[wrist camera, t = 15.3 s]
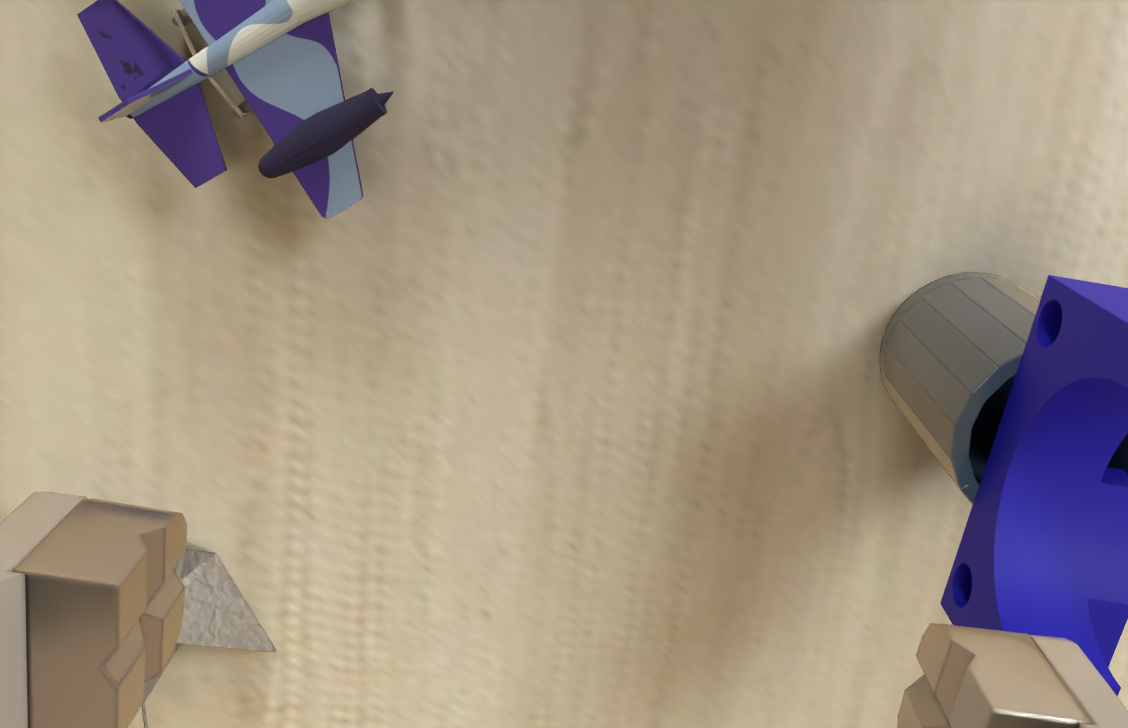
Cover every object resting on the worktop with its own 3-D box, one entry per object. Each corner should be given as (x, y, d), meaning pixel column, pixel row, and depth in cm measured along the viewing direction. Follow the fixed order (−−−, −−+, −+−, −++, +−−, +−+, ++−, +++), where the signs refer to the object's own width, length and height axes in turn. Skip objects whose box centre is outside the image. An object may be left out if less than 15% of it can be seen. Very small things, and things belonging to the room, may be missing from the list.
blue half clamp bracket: (1065, 622, 37) (1152, 736, 31) (940, 603, 37) (1005, 714, 31) (1187, 298, 33) (1313, 361, 27) (1048, 275, 33) (1145, 334, 27)
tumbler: (902, 259, 42) (984, 328, 33) (1070, 286, 42) (1193, 360, 34) (860, 415, 44) (927, 516, 36) (1019, 439, 44) (1123, 545, 36)
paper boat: (280, 530, 45) (307, 738, 46) (244, 511, 51) (269, 697, 51) (-40, 597, 39) (-4, 835, 40) (-41, 567, 45) (-10, 777, 45)
